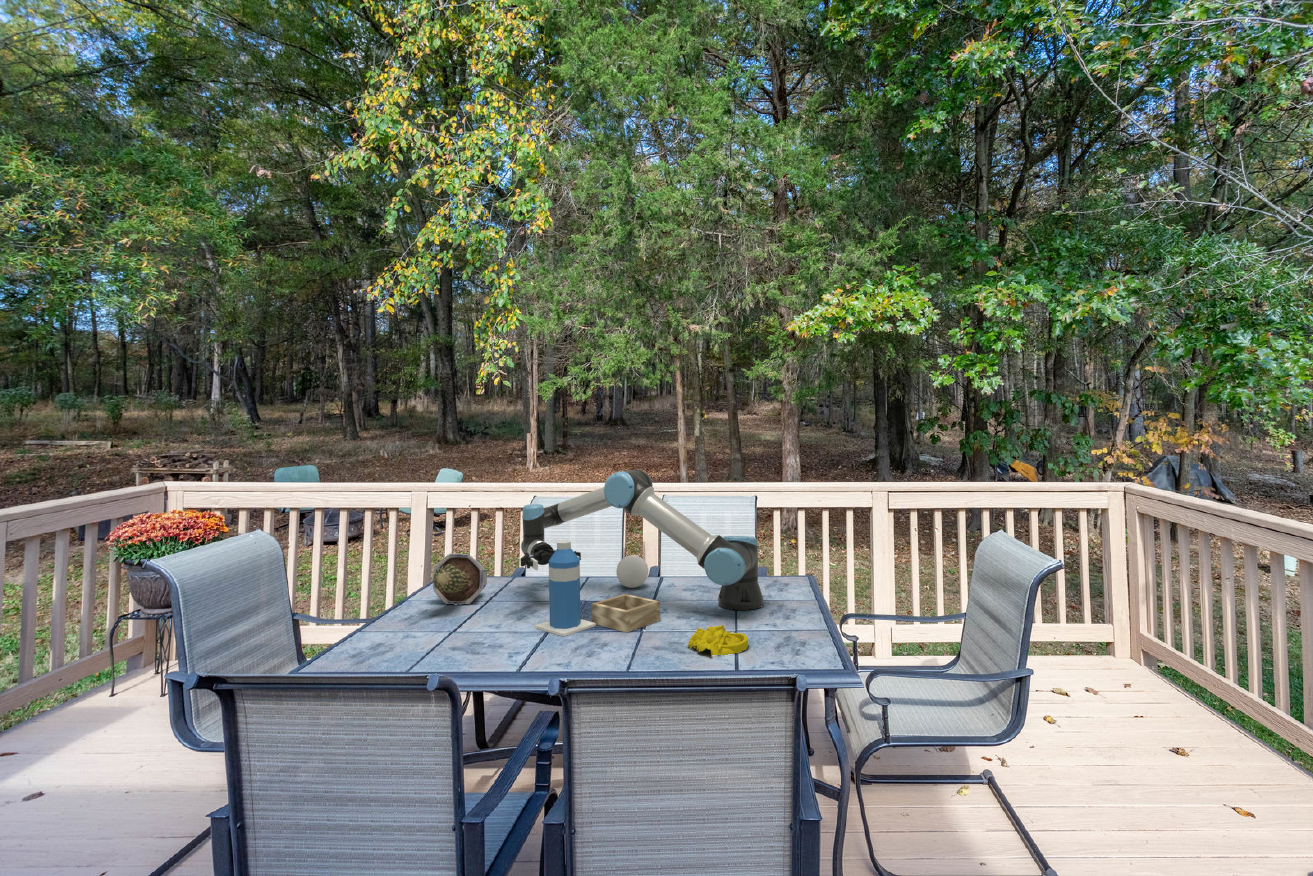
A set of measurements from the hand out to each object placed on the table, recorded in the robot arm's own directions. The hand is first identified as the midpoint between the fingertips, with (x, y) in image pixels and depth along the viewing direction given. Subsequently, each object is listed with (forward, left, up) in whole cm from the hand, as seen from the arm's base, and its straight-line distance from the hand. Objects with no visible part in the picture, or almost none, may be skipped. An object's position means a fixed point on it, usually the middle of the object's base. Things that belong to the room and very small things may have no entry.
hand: (557, 563), depth 208 cm
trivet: (-9, +5, -17) cm, 20 cm away
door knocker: (-55, -10, -18) cm, 59 cm away
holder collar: (-20, -10, -17) cm, 28 cm away
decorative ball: (+8, -43, -18) cm, 47 cm away
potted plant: (+39, +12, -18) cm, 44 cm away
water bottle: (-9, +5, -17) cm, 20 cm away
